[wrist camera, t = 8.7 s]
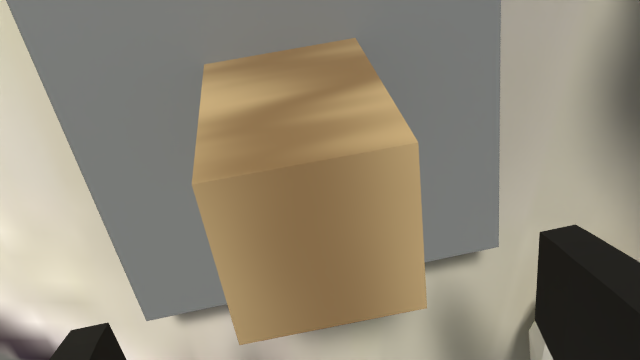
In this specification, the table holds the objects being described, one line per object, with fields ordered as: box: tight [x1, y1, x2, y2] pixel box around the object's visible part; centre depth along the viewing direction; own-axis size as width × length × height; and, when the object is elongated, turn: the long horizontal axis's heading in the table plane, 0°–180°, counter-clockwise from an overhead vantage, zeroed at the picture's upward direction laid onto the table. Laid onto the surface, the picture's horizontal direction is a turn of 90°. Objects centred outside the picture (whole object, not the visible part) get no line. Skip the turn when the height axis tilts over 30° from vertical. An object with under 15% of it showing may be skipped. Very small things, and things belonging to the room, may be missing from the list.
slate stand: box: [6, 0, 501, 321], centre depth 17 cm, size 12×12×2 cm
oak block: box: [192, 38, 427, 345], centre depth 14 cm, size 4×4×6 cm
